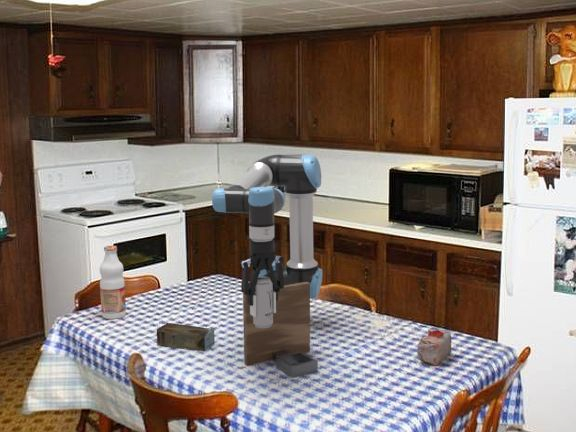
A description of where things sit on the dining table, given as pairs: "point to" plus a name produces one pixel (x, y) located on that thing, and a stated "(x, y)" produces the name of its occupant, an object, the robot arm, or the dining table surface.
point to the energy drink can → (263, 302)
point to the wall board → (279, 326)
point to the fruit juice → (112, 285)
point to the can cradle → (295, 363)
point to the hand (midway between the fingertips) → (263, 313)
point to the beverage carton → (185, 336)
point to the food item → (434, 347)
